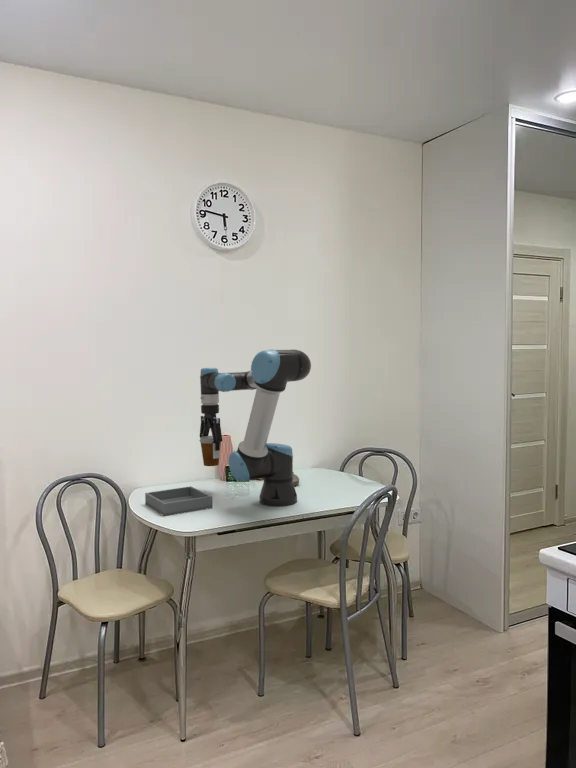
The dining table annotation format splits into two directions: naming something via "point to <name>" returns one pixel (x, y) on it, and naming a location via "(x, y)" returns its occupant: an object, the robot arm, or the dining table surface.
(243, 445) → the robot arm
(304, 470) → the dining table surface
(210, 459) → the disposable coffee cup
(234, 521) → the dining table surface
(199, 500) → the crate
